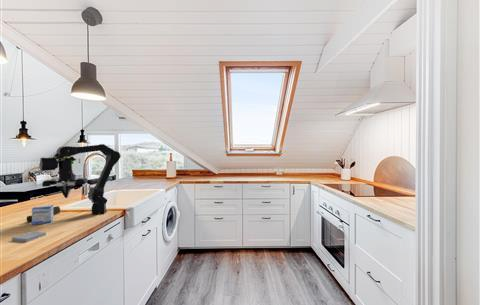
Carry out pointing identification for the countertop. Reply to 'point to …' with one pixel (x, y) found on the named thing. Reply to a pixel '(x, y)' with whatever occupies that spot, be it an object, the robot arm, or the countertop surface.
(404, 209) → the countertop surface
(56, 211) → the hand tool
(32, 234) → the tile
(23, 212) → the countertop surface
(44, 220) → the medicine box
